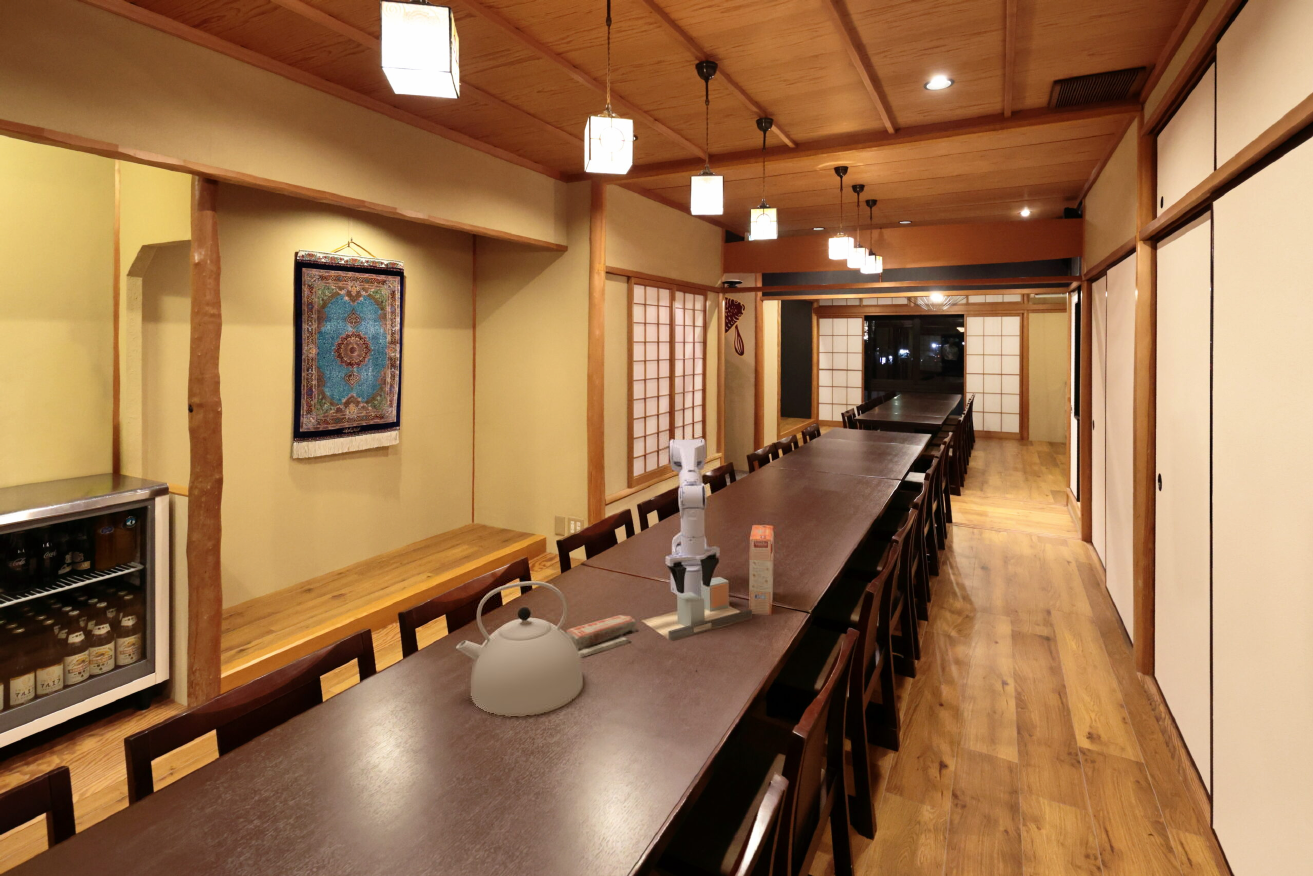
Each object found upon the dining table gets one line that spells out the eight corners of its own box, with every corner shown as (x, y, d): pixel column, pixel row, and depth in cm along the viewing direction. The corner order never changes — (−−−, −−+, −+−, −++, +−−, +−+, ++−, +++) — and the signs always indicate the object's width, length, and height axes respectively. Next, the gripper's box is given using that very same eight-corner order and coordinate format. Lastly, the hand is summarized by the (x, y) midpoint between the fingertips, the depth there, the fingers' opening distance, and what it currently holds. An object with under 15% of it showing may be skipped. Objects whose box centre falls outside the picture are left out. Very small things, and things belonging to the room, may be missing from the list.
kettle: (458, 727, 124) (450, 611, 121) (459, 672, 146) (453, 571, 143) (591, 706, 131) (587, 594, 128) (574, 655, 153) (570, 559, 150)
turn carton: (691, 630, 161) (690, 602, 161) (677, 622, 167) (677, 595, 166) (705, 626, 164) (705, 599, 163) (691, 618, 169) (691, 591, 168)
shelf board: (641, 625, 168) (640, 612, 168) (719, 604, 180) (719, 593, 180) (670, 645, 156) (670, 632, 156) (752, 622, 168) (752, 610, 168)
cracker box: (772, 619, 170) (772, 539, 167) (748, 618, 171) (748, 538, 169) (774, 599, 184) (774, 524, 181) (751, 597, 185) (751, 523, 182)
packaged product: (579, 640, 150) (558, 626, 158) (580, 660, 151) (559, 645, 159) (645, 619, 161) (622, 607, 169) (646, 639, 161) (623, 625, 169)
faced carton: (701, 606, 176) (700, 581, 175) (719, 602, 179) (719, 576, 178) (710, 612, 172) (710, 585, 172) (729, 607, 176) (729, 581, 175)
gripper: (676, 543, 155) (677, 600, 157) (727, 533, 162) (727, 587, 164) (660, 536, 161) (661, 591, 163) (709, 527, 168) (710, 579, 170)
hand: (693, 588), depth 164 cm, fingers open, 7 cm apart
